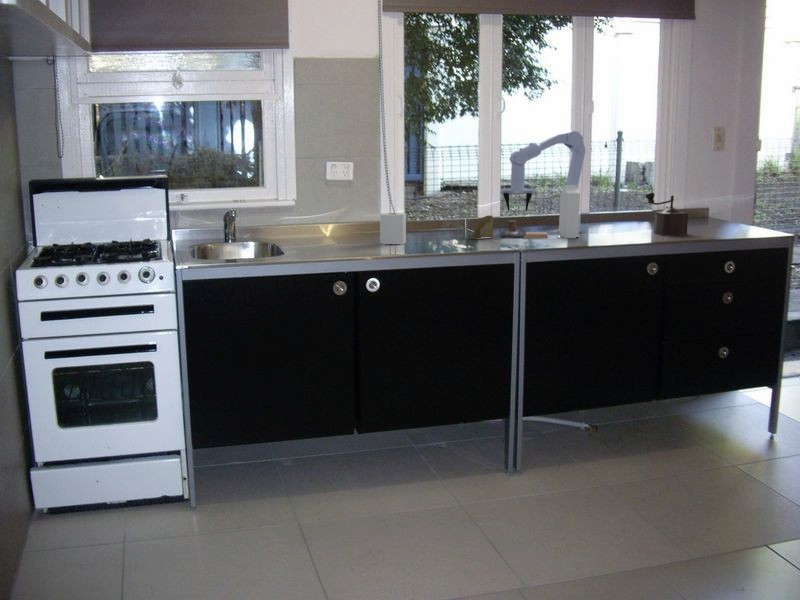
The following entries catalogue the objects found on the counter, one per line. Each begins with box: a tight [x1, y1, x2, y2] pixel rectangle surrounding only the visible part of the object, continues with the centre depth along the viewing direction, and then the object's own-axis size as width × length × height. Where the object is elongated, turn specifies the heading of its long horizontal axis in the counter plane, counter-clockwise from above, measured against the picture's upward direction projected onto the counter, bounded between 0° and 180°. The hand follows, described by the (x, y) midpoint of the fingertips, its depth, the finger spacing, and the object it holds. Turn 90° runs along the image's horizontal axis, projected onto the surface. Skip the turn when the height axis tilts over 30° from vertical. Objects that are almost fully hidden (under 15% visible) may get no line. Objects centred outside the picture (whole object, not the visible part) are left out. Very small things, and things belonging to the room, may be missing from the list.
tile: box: [525, 231, 548, 239], centre depth 367 cm, size 9×2×8 cm
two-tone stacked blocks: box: [505, 220, 519, 235], centre depth 372 cm, size 5×12×5 cm, turn 171°
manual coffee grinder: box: [644, 191, 689, 236], centre depth 372 cm, size 16×11×18 cm
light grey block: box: [379, 212, 407, 245], centre depth 351 cm, size 10×10×12 cm
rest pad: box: [501, 231, 525, 239], centre depth 372 cm, size 9×12×1 cm
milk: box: [558, 184, 581, 239], centre depth 364 cm, size 6×6×22 cm
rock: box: [471, 215, 494, 240], centre depth 365 cm, size 11×9×10 cm
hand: (517, 210), depth 380 cm, fingers open, 7 cm apart
